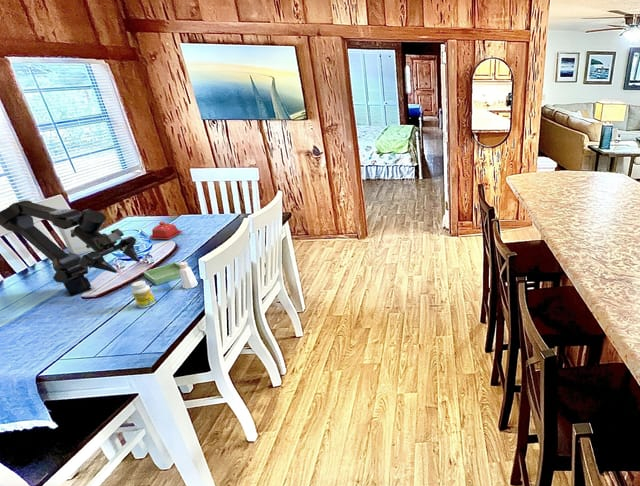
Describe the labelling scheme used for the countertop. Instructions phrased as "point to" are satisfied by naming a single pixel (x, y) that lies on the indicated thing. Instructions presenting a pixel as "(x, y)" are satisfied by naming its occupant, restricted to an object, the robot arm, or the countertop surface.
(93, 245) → the robot arm
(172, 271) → the green tray
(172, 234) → the butter dish
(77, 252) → the rectangular carton
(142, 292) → the supplement bottle
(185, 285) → the pepper shaker
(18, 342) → the countertop surface
